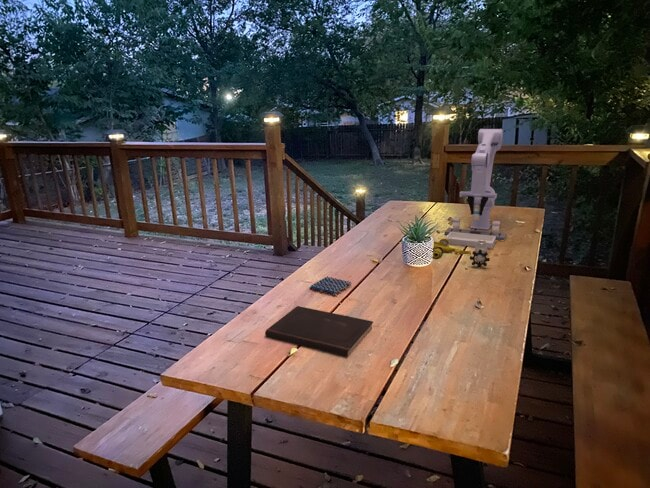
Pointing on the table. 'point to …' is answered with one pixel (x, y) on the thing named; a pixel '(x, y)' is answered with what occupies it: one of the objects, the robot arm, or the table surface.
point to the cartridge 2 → (495, 228)
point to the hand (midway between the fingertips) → (476, 214)
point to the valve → (480, 253)
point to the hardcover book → (320, 330)
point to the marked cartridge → (476, 211)
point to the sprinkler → (445, 248)
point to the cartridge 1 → (456, 224)
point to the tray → (470, 239)
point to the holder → (500, 237)
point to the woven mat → (330, 286)
